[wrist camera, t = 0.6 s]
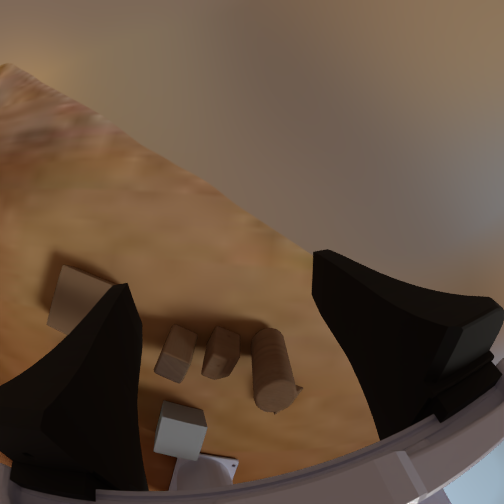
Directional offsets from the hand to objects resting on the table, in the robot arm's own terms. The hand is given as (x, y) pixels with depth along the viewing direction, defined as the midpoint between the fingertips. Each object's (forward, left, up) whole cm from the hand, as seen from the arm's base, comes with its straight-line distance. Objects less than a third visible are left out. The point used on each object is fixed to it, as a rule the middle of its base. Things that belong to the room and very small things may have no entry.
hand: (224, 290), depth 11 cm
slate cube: (-17, -3, -24) cm, 29 cm away
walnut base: (-6, +11, -24) cm, 27 cm away
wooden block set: (-7, -8, -24) cm, 26 cm away
